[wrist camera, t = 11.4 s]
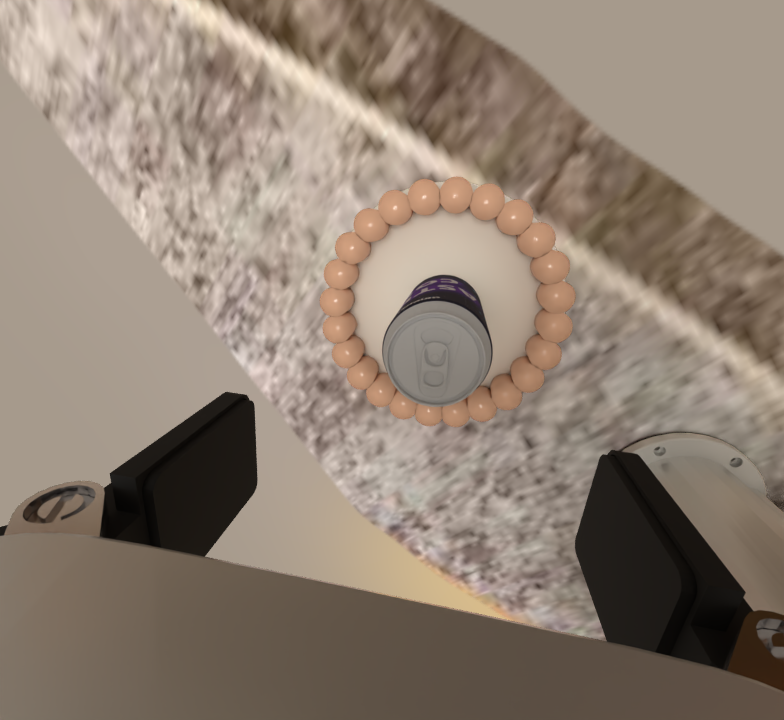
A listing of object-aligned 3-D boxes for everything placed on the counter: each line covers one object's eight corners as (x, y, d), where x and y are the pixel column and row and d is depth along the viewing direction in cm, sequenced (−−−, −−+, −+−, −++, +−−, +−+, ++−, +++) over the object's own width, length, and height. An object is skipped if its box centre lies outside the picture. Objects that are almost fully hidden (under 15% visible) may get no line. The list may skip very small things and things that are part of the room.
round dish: (591, 191, 27) (606, 187, 24) (537, 425, 33) (544, 443, 30) (335, 172, 29) (322, 167, 26) (328, 394, 35) (317, 409, 33)
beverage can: (485, 275, 29) (502, 308, 18) (476, 348, 31) (487, 420, 20) (408, 271, 30) (378, 299, 19) (405, 343, 32) (376, 408, 20)
